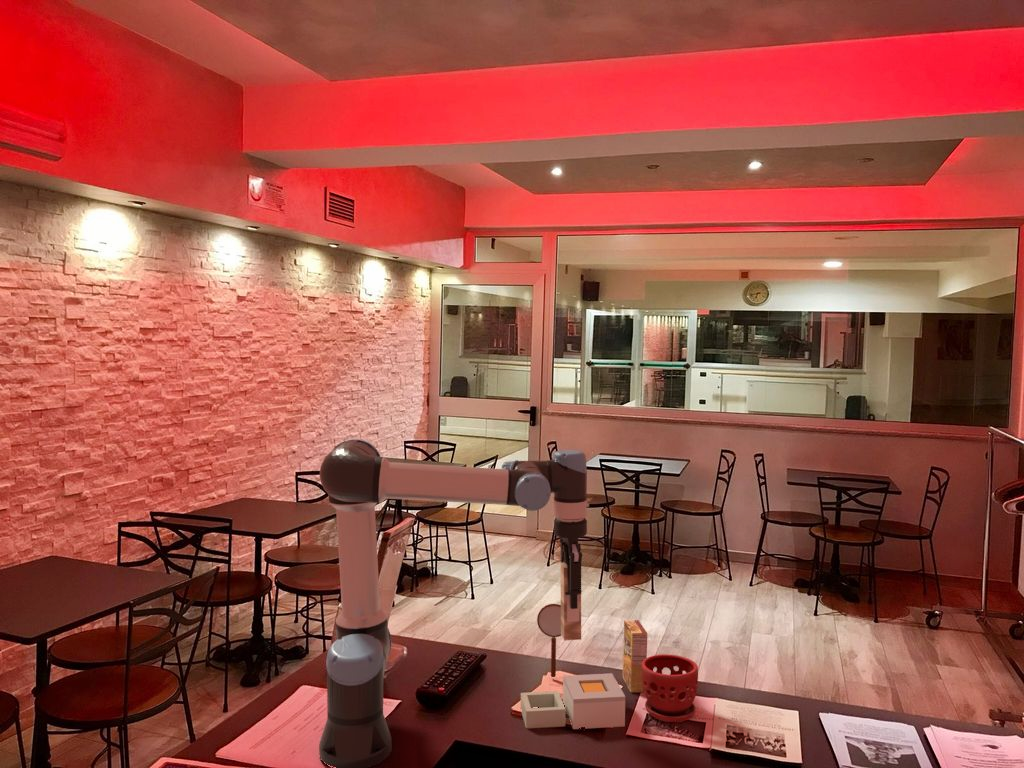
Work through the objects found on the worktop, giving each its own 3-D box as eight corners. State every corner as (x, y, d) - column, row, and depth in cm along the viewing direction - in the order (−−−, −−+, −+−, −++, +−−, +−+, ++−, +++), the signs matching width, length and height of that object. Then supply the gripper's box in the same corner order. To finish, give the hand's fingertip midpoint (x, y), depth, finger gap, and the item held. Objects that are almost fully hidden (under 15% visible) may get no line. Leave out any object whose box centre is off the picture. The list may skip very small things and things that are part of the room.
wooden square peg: (564, 640, 179) (563, 567, 178) (560, 633, 183) (560, 562, 182) (581, 639, 180) (581, 567, 178) (577, 632, 184) (577, 561, 182)
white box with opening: (573, 729, 177) (573, 699, 176) (562, 703, 188) (563, 675, 188) (624, 726, 178) (625, 696, 178) (611, 701, 190) (611, 673, 189)
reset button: (585, 705, 180) (585, 693, 180) (580, 695, 185) (580, 683, 185) (606, 704, 181) (606, 692, 181) (601, 694, 186) (601, 682, 186)
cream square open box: (526, 728, 177) (526, 711, 176) (520, 709, 186) (520, 692, 185) (565, 726, 178) (565, 709, 178) (557, 707, 187) (558, 690, 186)
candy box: (621, 677, 203) (622, 619, 202) (637, 676, 203) (639, 619, 202) (630, 693, 194) (631, 633, 193) (646, 692, 195) (648, 632, 194)
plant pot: (701, 706, 188) (703, 658, 187) (690, 732, 176) (691, 680, 175) (648, 695, 193) (649, 648, 192) (633, 719, 181) (634, 669, 180)
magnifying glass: (570, 679, 202) (571, 603, 200) (569, 682, 200) (571, 605, 199) (536, 677, 202) (537, 602, 201) (536, 680, 201) (537, 604, 199)
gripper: (595, 526, 171) (595, 630, 173) (578, 508, 188) (579, 603, 190) (561, 528, 170) (562, 632, 172) (547, 510, 187) (548, 605, 189)
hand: (570, 617), depth 181 cm, fingers closed on wooden square peg, 4 cm apart
